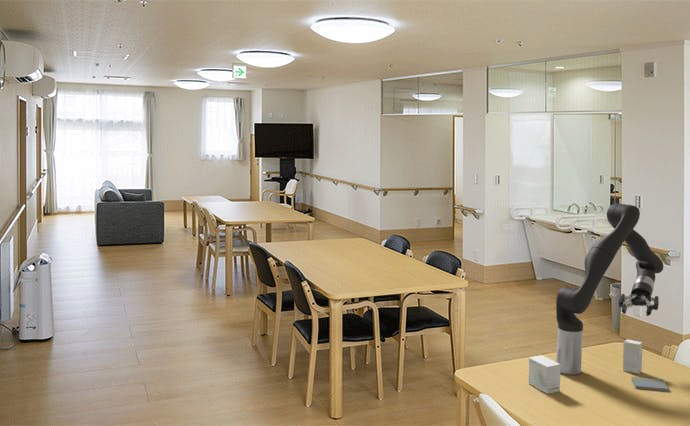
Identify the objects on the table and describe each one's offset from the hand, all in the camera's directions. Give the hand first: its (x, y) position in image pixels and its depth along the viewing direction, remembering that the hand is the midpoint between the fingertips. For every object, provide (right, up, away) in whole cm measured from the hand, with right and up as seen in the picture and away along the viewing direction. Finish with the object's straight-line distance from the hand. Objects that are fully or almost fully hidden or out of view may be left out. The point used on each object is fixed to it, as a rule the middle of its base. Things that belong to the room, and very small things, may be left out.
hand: (635, 313), depth 252 cm
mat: (-1, -25, -13) cm, 28 cm away
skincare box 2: (-1, -23, +1) cm, 23 cm away
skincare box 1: (-41, -25, -15) cm, 50 cm away
